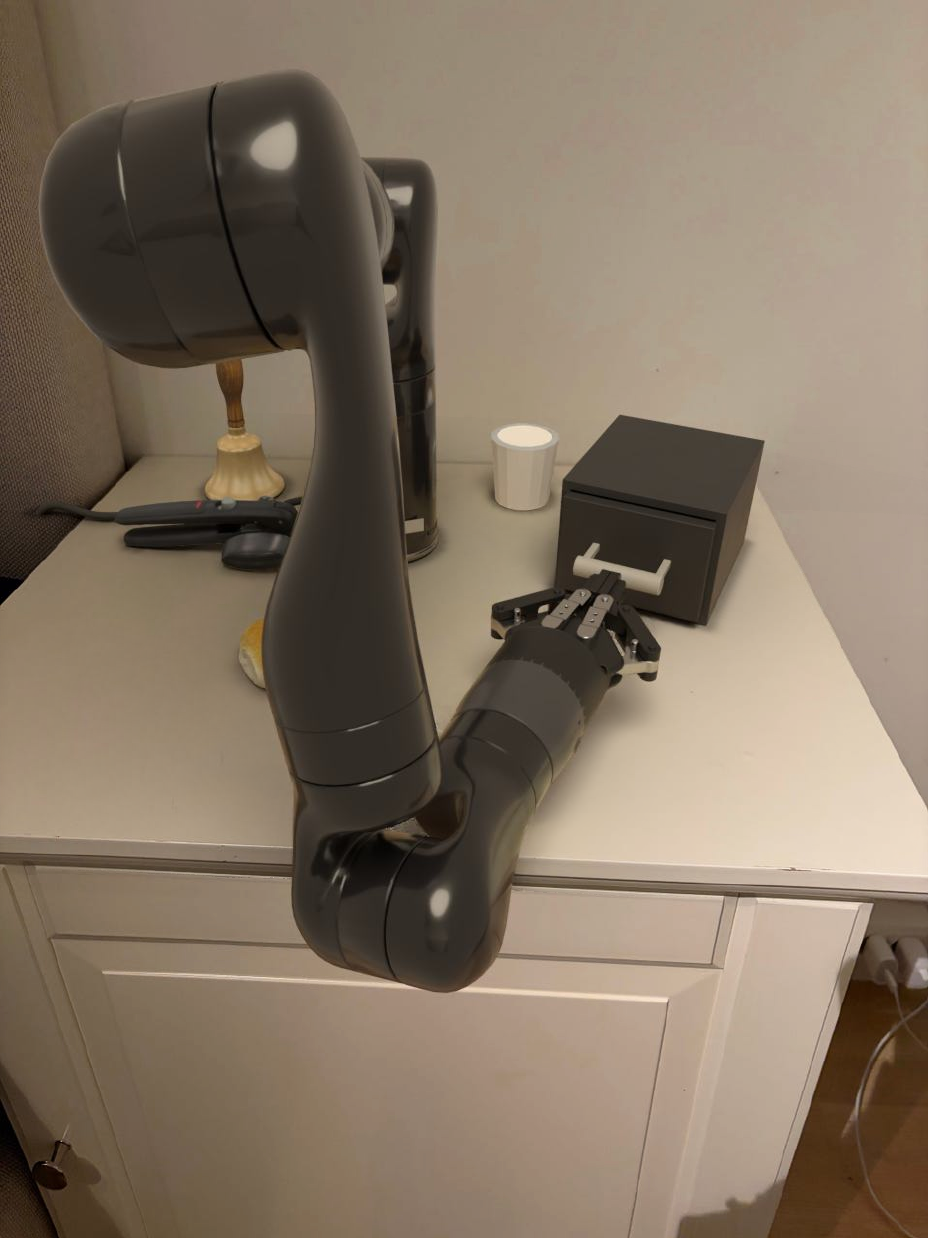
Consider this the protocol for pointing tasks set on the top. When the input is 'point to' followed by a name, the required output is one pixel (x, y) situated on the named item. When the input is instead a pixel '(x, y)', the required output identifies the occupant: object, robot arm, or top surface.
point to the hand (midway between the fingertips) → (610, 581)
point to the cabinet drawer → (637, 552)
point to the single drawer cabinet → (676, 482)
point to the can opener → (217, 528)
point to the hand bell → (239, 449)
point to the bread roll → (252, 653)
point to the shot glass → (523, 464)
